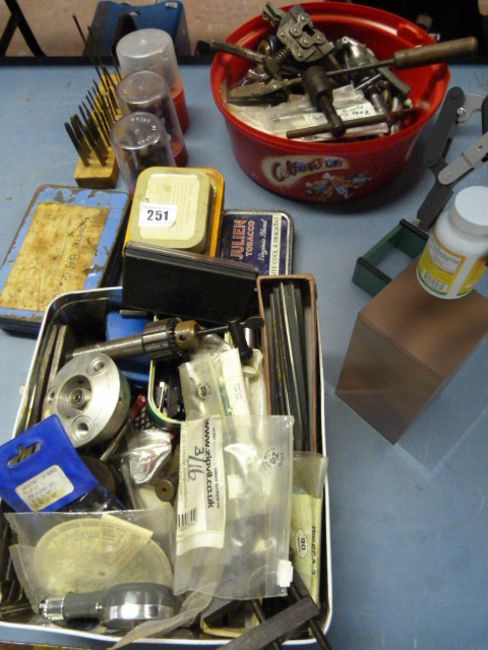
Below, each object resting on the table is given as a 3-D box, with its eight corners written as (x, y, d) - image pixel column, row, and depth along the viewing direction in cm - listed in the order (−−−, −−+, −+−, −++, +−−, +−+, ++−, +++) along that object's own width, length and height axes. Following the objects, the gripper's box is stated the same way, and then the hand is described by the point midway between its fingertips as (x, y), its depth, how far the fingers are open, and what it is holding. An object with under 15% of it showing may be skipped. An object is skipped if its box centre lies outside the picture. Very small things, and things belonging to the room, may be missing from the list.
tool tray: (451, 280, 77) (463, 257, 72) (407, 323, 73) (417, 303, 69) (394, 241, 81) (402, 217, 76) (351, 281, 77) (356, 259, 73)
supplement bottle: (417, 299, 46) (447, 230, 38) (413, 252, 48) (441, 177, 40) (479, 302, 45) (524, 233, 37) (472, 254, 48) (512, 179, 40)
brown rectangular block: (440, 394, 68) (506, 310, 49) (393, 446, 65) (444, 378, 46) (381, 347, 72) (420, 252, 53) (334, 394, 69) (358, 312, 50)
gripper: (498, -29, 34) (366, 203, 40) (734, 49, 29) (539, 300, 35) (505, 15, 40) (391, 209, 47) (700, 85, 35) (541, 292, 41)
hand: (455, 247), depth 41 cm, fingers closed on supplement bottle, 5 cm apart
